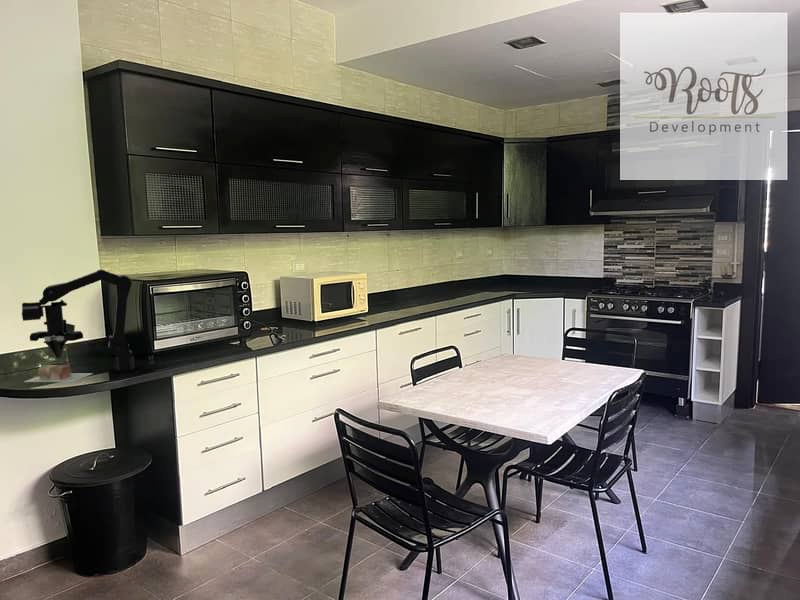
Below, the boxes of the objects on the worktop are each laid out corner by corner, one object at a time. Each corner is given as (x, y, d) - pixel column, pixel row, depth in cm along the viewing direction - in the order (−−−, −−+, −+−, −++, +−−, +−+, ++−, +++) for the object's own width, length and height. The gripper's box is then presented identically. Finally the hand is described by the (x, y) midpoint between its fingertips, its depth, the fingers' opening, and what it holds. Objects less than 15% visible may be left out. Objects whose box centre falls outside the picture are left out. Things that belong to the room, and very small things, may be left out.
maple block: (69, 365, 231) (46, 365, 232) (62, 368, 227) (38, 368, 228) (71, 376, 232) (47, 376, 233) (63, 379, 227) (39, 379, 229)
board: (93, 375, 236) (93, 373, 236) (71, 384, 223) (71, 382, 223) (48, 375, 238) (47, 373, 238) (23, 384, 226) (23, 381, 225)
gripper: (90, 314, 233) (94, 353, 236) (47, 315, 236) (51, 353, 238) (71, 319, 223) (75, 359, 225) (26, 319, 225) (31, 359, 227)
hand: (58, 357), depth 229 cm, fingers closed
